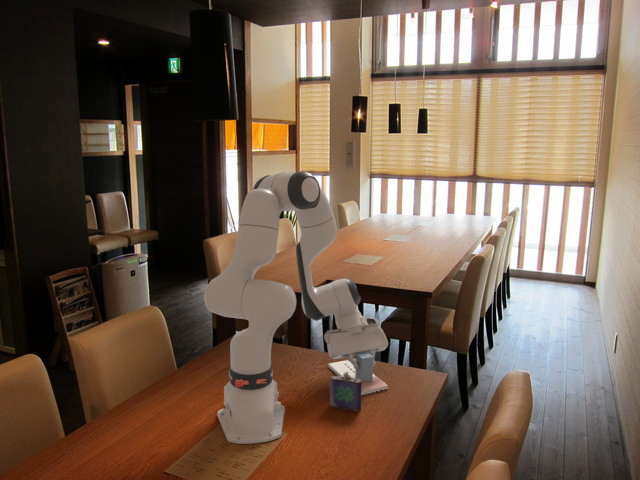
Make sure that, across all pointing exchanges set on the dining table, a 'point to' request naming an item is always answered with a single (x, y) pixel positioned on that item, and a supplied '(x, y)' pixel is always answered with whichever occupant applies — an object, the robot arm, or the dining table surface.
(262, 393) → the robot arm
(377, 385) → the board
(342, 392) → the flask
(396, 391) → the dining table surface
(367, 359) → the grey rectangular block
